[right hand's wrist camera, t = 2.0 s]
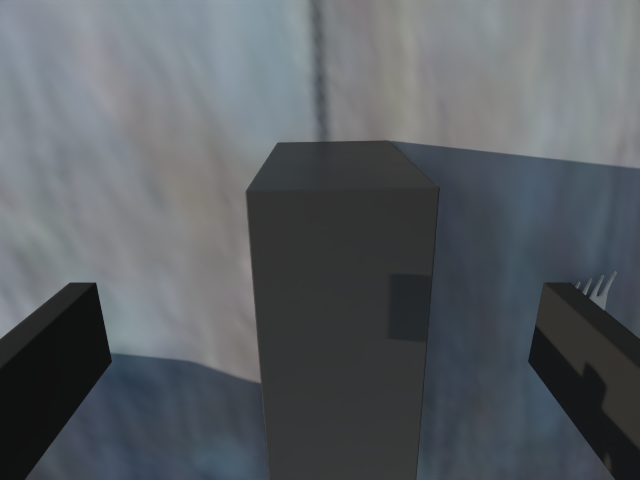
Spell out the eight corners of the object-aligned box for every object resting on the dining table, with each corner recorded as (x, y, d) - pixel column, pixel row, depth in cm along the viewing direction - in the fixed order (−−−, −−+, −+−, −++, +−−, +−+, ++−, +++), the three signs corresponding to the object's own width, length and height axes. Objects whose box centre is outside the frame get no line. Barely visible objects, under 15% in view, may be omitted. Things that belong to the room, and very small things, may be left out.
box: (277, 142, 25) (245, 191, 14) (389, 140, 25) (440, 187, 14) (295, 480, 34) (283, 662, 24) (376, 479, 34) (401, 661, 24)
